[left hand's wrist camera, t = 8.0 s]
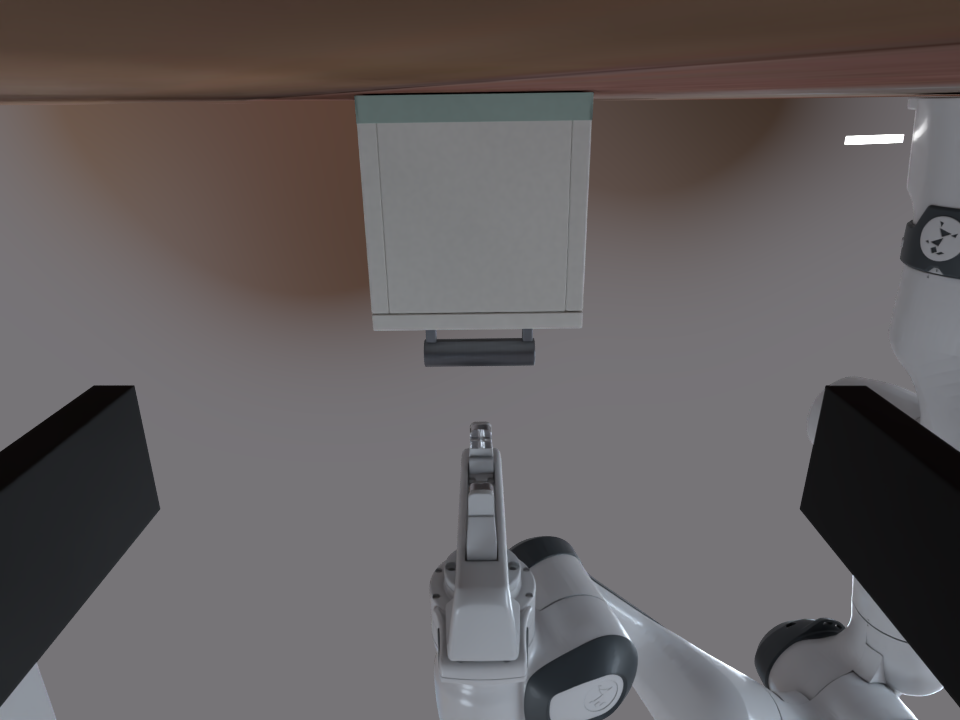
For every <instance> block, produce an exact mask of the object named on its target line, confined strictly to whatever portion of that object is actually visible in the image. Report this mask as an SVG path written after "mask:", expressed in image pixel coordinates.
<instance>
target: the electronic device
mask: <svg viewBox="0 0 960 720" xmlns="http://www.w3.org/2000/svg"><path fill="white" fill-rule="evenodd" d="M0 720H56V717H55V714H54V711H53V708H52V705H51V702H50V699H49V696H48V694H47V691H46V688H45V685H44V682H43V679H42V676H41V673H40V671H39V668H38V665H37V662H36V664H35V665H34V666H33V667H32V669H31V670H30V671H29V672H28V674H27V675H26V676H25V677H24V679H23V680H22V681H21V682H20V684H19V685H18V686H17V687H16V688H15V690H14V691H13V692H12V693H11V695H10V696H9V697H8V698H7V700H6V701H5V702H4V703H3V705H2V706H1V707H0Z"/></svg>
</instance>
